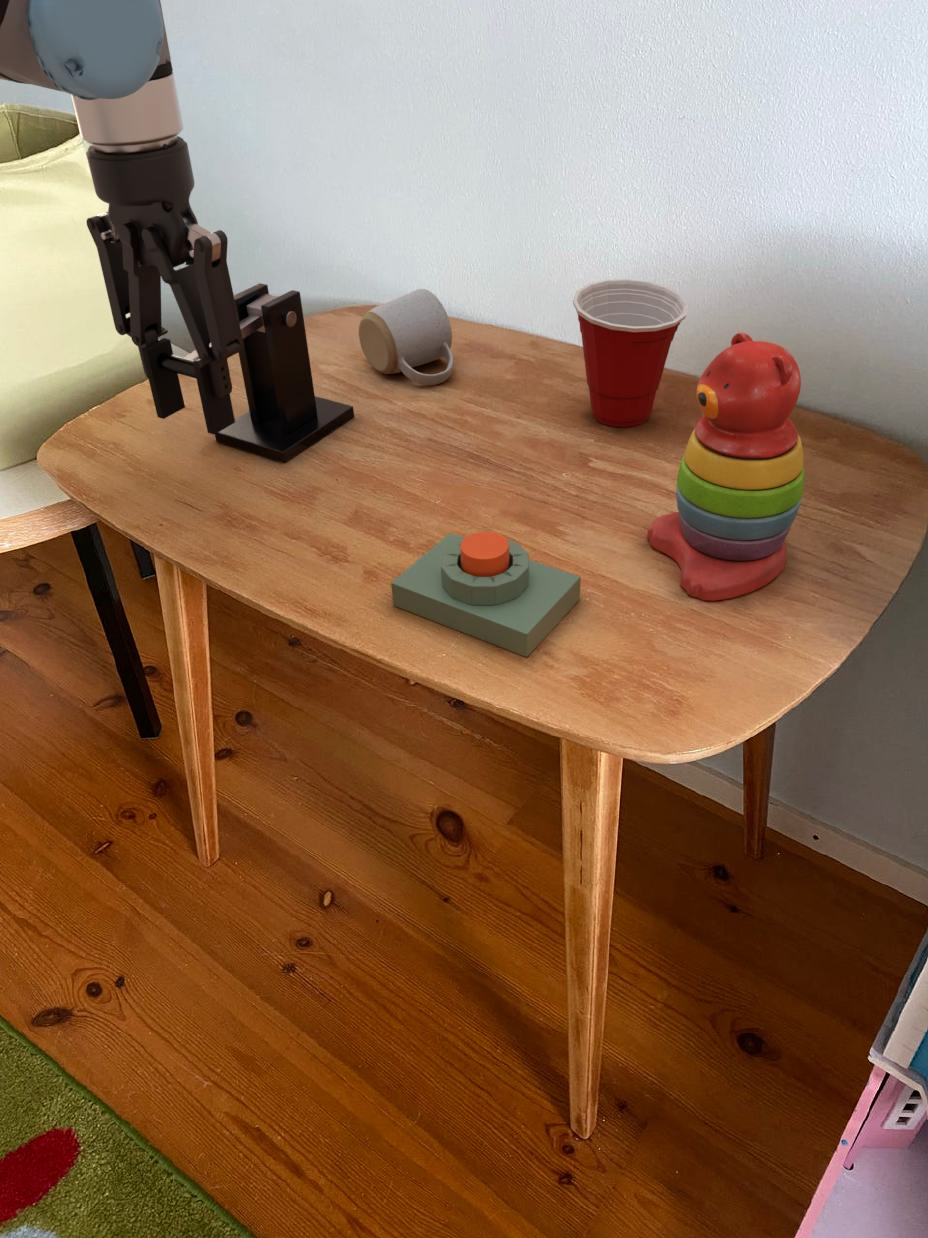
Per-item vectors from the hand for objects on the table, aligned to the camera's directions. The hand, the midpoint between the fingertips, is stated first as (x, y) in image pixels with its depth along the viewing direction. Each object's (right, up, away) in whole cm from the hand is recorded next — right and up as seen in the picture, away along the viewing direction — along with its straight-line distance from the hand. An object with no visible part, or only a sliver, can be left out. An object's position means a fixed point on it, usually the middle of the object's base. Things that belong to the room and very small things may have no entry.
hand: (196, 419), depth 89 cm
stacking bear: (+45, -13, -9) cm, 48 cm away
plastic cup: (+40, +2, +11) cm, 42 cm away
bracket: (+6, +1, +11) cm, 13 cm away
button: (+26, -14, -15) cm, 33 cm away
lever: (+3, +7, +1) cm, 7 cm away
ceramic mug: (+19, +10, +21) cm, 30 cm away
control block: (+26, -17, -13) cm, 33 cm away
